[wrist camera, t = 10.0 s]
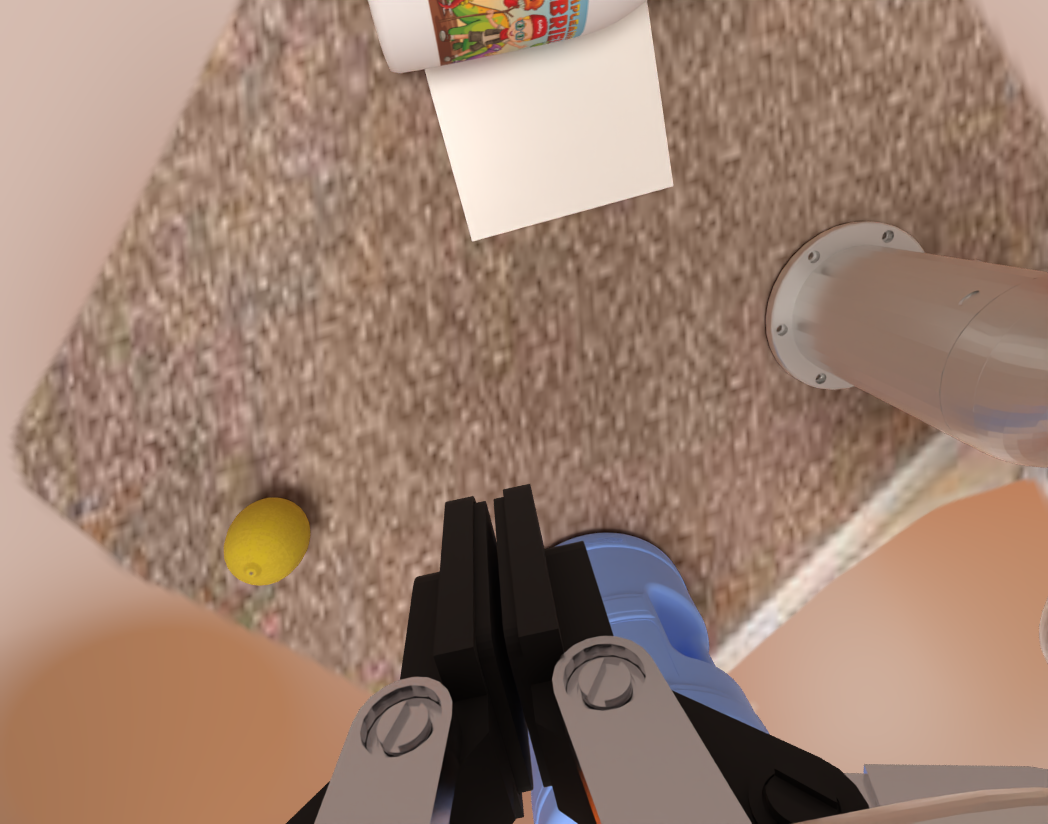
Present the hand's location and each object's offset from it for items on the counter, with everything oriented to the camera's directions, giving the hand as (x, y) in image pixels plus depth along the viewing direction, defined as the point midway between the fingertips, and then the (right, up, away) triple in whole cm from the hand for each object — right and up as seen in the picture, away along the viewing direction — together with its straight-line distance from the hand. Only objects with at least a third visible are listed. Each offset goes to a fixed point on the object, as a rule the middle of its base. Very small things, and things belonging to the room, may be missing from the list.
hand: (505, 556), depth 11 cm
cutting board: (+1, +25, +25) cm, 35 cm away
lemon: (-19, -5, +35) cm, 40 cm away
